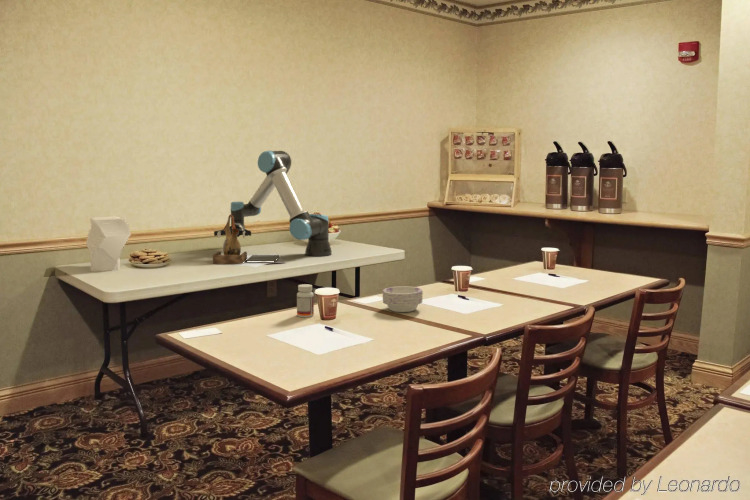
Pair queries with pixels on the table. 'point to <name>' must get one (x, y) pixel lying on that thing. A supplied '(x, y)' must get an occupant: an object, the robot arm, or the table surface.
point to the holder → (229, 258)
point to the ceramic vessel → (231, 239)
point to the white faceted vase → (106, 242)
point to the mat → (263, 258)
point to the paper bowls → (402, 298)
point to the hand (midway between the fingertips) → (230, 235)
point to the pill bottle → (305, 301)
